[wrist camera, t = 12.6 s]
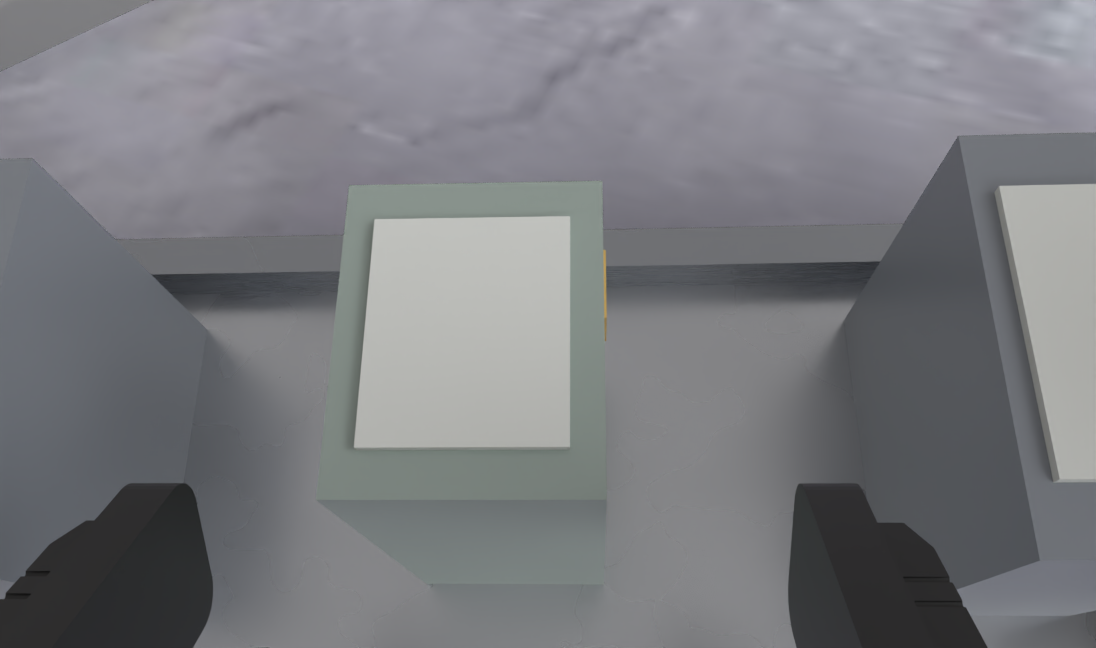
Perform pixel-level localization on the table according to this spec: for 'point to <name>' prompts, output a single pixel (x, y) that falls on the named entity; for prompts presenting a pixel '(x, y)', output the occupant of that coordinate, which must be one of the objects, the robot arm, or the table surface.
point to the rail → (631, 449)
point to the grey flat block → (51, 23)
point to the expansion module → (472, 380)
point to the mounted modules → (872, 339)
